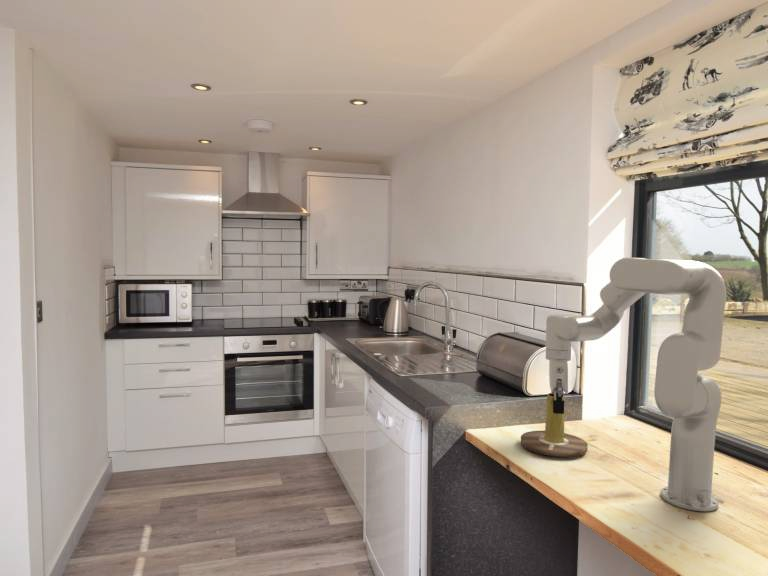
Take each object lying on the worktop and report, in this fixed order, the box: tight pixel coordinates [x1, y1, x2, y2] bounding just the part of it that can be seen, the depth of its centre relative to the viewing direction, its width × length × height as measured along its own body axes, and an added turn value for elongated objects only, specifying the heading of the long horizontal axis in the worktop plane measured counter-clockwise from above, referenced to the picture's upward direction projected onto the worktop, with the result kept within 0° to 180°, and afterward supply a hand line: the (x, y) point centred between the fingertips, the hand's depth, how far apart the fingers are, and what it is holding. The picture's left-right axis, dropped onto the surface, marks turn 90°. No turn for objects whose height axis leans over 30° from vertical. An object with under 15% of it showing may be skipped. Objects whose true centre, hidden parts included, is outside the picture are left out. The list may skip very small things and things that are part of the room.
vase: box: [544, 392, 566, 443], centre depth 173 cm, size 6×6×14 cm
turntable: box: [520, 430, 589, 458], centre depth 175 cm, size 23×20×8 cm
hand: (556, 409), depth 173 cm, fingers open, 9 cm apart
